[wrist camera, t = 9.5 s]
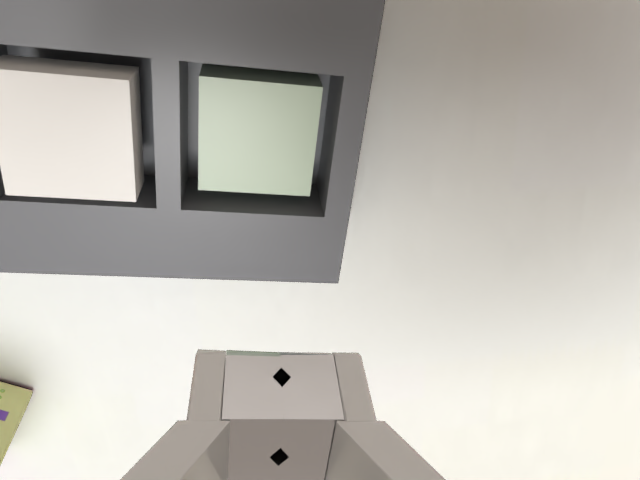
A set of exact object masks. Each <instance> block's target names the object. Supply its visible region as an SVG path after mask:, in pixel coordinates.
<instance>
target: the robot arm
mask: <svg viewBox="0 0 640 480" xmlns="http://www.w3.org/2000/svg"><path fill="white" fill-rule="evenodd" d="M120 480H445V479H444V478H443V477H442V476H441V475H440V474H439V473H438V472H437V471H436V470H435V469H434V468H433V467H432V466H431V465H430V464H429V463H428V462H427V461H426V460H425V459H423V458H422V457H421V456H420V455H419V454H418V453H417V452H416V451H415V450H414V449H413V448H412V447H411V446H410V445H409V444H408V443H407V442H406V441H405V440H404V439H403V438H402V437H401V436H400V435H398V434H397V433H396V432H395V431H394V430H393V429H392V428H391V427H390V426H389V425H388V424H387V423H386V422H385V421H376V416H375V412H374V408H373V404H372V400H371V395H370V391H369V387H368V383H367V379H366V374H365V370H364V366H363V362H362V358H361V356H360V354H359V353H332V354H331V353H294V352H257V351H234V350H226V351H220V350H200V349H198V351H197V354H196V357H195V364H194V371H193V378H192V385H191V392H190V400H189V407H188V414H187V420H183V421H177V422H176V423H175V424H174V425H173V426H172V427H171V428H170V429H169V430H168V431H167V432H166V433H165V434H164V435H163V436H162V437H161V438H160V439H159V440H158V442H157V443H156V444H155V445H154V446H153V447H152V448H151V449H150V450H149V451H148V452H147V453H146V454H145V455H144V456H143V457H142V458H141V459H140V460H139V461H138V462H137V463H136V464H135V465H134V466H133V467H132V468H131V469H130V470H129V471H128V472H127V473H126V474H125V475H124V476H123V477H122V478H121V479H120Z"/></svg>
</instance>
